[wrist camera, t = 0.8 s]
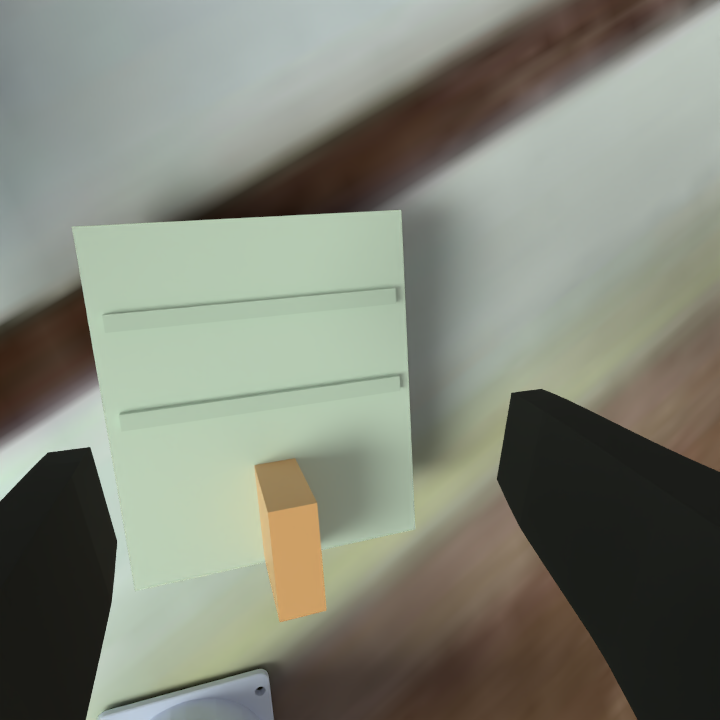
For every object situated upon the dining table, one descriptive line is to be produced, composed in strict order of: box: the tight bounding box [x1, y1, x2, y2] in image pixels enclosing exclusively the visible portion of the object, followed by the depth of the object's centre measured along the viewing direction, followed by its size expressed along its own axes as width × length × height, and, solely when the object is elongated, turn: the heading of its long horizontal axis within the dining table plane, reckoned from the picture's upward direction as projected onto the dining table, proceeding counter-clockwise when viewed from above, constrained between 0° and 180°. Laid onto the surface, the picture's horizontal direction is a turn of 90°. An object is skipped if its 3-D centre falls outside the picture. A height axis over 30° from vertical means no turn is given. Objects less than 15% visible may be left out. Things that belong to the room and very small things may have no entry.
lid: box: [72, 210, 415, 622], centre depth 20 cm, size 13×11×6 cm
